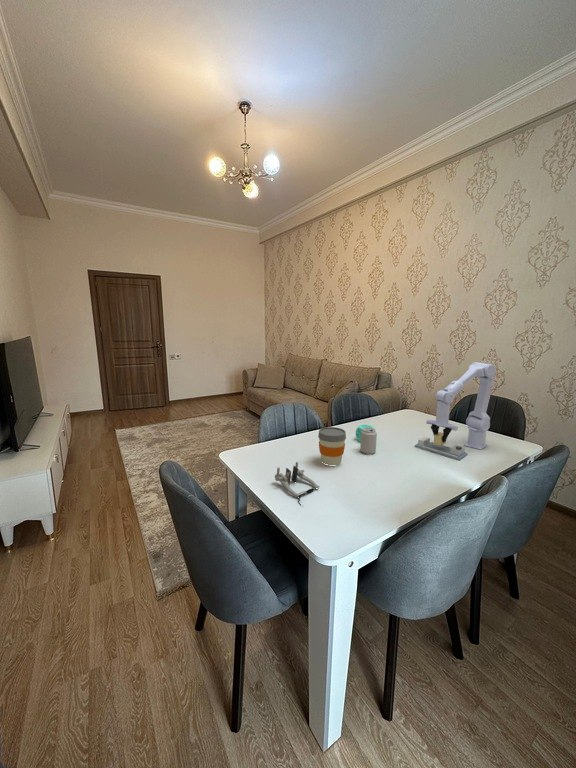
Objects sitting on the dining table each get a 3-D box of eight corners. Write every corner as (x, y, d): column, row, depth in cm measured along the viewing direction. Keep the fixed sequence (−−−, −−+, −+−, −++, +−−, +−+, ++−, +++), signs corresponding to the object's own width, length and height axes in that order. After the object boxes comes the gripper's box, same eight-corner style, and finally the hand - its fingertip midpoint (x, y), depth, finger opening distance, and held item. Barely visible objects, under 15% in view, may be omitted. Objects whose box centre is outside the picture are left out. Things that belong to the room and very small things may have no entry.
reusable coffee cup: (334, 471, 135) (336, 438, 132) (312, 462, 143) (312, 431, 140) (350, 461, 144) (351, 431, 141) (327, 454, 152) (328, 425, 149)
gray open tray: (423, 442, 168) (424, 435, 167) (467, 455, 152) (468, 447, 151) (414, 446, 162) (415, 439, 161) (459, 460, 145) (460, 452, 145)
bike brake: (270, 481, 124) (301, 512, 109) (272, 466, 122) (303, 495, 107) (297, 472, 132) (329, 500, 117) (299, 458, 130) (331, 484, 115)
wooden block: (438, 441, 160) (439, 431, 159) (445, 443, 157) (446, 433, 156) (433, 444, 156) (434, 434, 155) (440, 446, 153) (441, 436, 152)
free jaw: (455, 450, 154) (456, 443, 154) (464, 453, 151) (465, 446, 151) (449, 454, 150) (450, 447, 149) (458, 457, 147) (459, 449, 146)
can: (376, 455, 151) (377, 432, 149) (360, 454, 152) (361, 431, 150) (375, 449, 158) (376, 427, 156) (360, 448, 160) (361, 426, 157)
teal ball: (364, 444, 165) (364, 430, 164) (355, 439, 172) (355, 425, 171) (376, 442, 168) (376, 428, 167) (366, 437, 176) (367, 423, 174)
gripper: (424, 412, 156) (422, 438, 159) (454, 419, 146) (451, 446, 148) (430, 410, 161) (428, 435, 163) (460, 416, 150) (457, 443, 153)
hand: (440, 440), depth 156 cm, fingers closed on wooden block, 4 cm apart
